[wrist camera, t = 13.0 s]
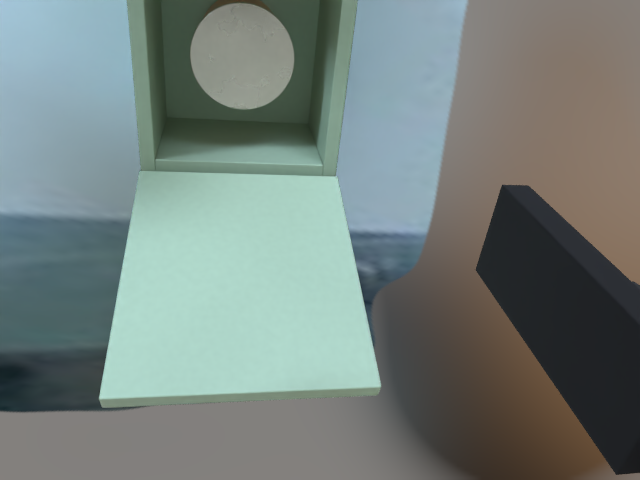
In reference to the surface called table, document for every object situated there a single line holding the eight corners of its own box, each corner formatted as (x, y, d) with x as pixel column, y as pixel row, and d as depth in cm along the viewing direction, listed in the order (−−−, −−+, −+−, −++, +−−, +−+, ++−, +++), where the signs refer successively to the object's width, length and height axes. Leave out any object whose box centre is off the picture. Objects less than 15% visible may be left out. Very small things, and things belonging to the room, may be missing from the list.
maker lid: (98, 399, 20) (101, 408, 21) (382, 387, 22) (378, 396, 22) (138, 170, 29) (140, 181, 30) (337, 176, 31) (335, 186, 31)
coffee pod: (194, -16, 31) (188, -2, 27) (288, -8, 32) (298, 7, 28) (196, 79, 34) (191, 107, 30) (282, 84, 35) (290, 112, 31)
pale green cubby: (142, -94, 30) (118, -93, 23) (337, -72, 32) (366, -65, 25) (156, 123, 36) (140, 172, 30) (316, 130, 38) (335, 177, 32)
